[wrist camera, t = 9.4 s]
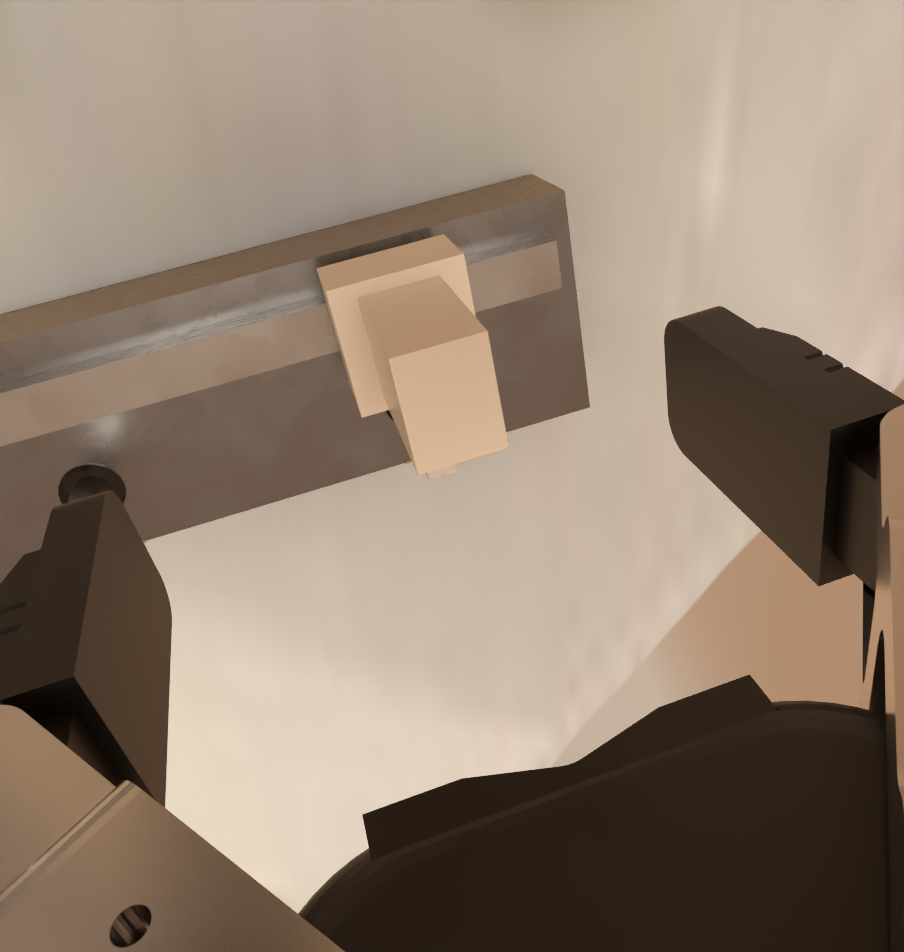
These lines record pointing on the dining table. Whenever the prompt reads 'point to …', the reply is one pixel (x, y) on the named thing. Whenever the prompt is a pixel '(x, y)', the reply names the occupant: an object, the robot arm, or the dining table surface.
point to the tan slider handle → (418, 350)
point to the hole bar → (261, 369)
